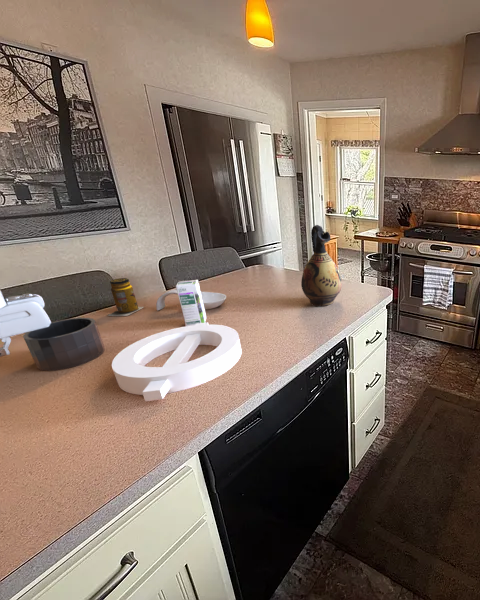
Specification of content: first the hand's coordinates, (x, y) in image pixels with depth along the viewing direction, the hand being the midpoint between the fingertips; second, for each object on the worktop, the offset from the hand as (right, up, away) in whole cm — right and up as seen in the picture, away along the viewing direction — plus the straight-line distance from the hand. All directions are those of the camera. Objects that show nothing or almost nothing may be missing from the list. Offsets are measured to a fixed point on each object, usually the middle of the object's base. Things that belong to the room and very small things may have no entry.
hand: (1, 355), depth 79 cm
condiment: (-4, +9, +41) cm, 42 cm away
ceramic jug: (+66, +13, +52) cm, 85 cm away
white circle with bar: (+39, -3, +8) cm, 40 cm away
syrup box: (+27, +6, +32) cm, 43 cm away
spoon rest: (+19, +11, +45) cm, 49 cm away
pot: (+7, -2, +11) cm, 13 cm away
